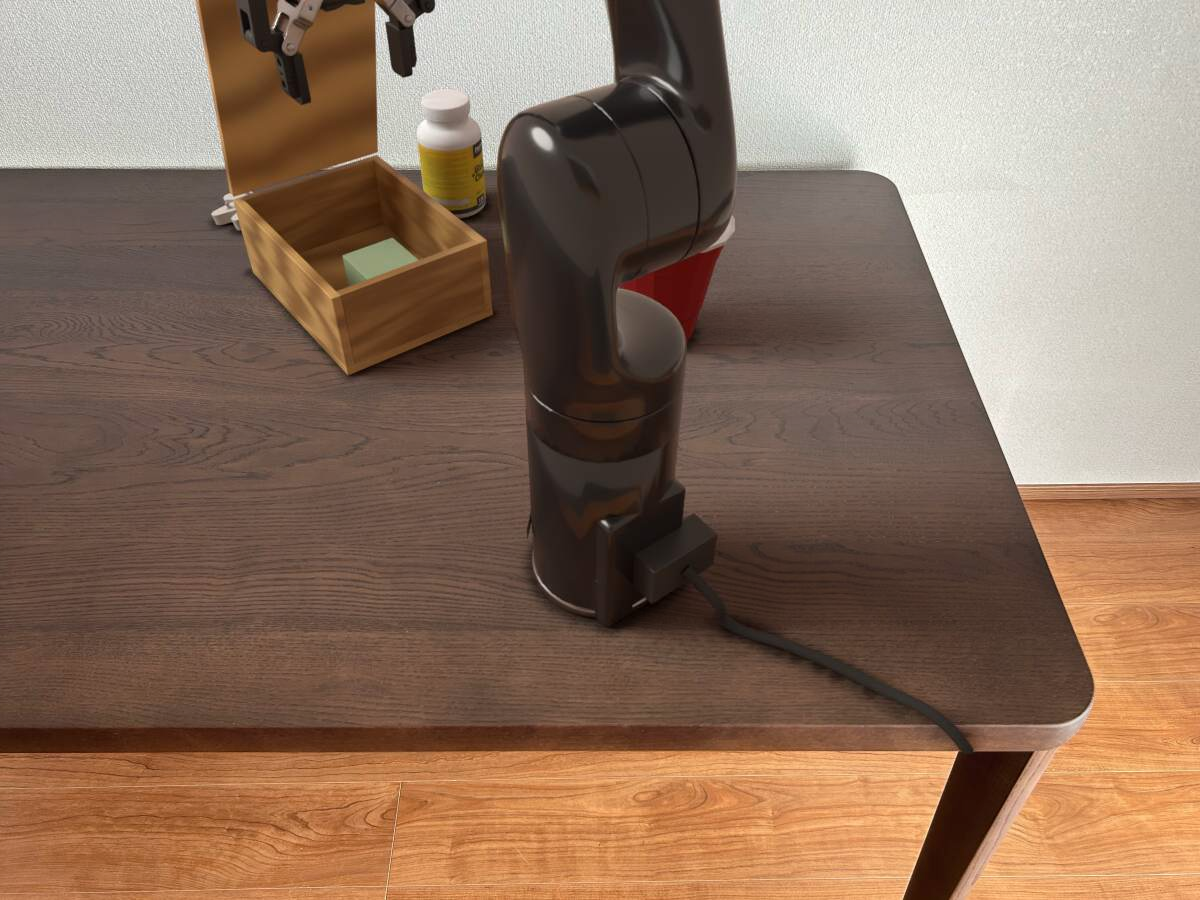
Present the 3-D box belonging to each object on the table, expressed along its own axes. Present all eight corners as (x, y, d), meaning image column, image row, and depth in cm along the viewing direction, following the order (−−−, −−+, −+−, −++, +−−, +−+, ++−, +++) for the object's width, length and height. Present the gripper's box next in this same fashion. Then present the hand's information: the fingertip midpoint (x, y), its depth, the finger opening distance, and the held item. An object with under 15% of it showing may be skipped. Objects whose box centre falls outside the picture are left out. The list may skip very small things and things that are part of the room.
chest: (493, 314, 88) (487, 240, 83) (348, 375, 82) (331, 298, 76) (387, 225, 100) (376, 154, 94) (252, 272, 93) (232, 199, 88)
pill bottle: (476, 224, 100) (467, 116, 92) (416, 217, 101) (402, 109, 93) (494, 194, 104) (486, 88, 96) (436, 187, 105) (424, 82, 97)
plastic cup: (746, 346, 86) (764, 226, 77) (641, 383, 82) (648, 261, 73) (679, 285, 92) (689, 168, 84) (579, 317, 88) (579, 198, 80)
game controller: (205, 217, 100) (198, 194, 98) (302, 181, 106) (298, 159, 104) (232, 238, 97) (225, 215, 96) (331, 200, 103) (326, 177, 101)
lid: (374, -56, 77) (369, -61, 77) (195, -20, 70) (190, -26, 71) (378, 152, 94) (374, 147, 94) (233, 197, 87) (229, 192, 87)
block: (427, 308, 88) (420, 261, 84) (377, 328, 85) (369, 280, 82) (399, 284, 90) (392, 237, 87) (351, 302, 88) (341, 255, 85)
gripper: (229, -132, 58) (287, 129, 69) (436, -163, 64) (459, 80, 75) (183, -155, 62) (244, 94, 73) (381, -182, 68) (410, 50, 79)
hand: (353, 87), depth 74 cm, fingers open, 8 cm apart
